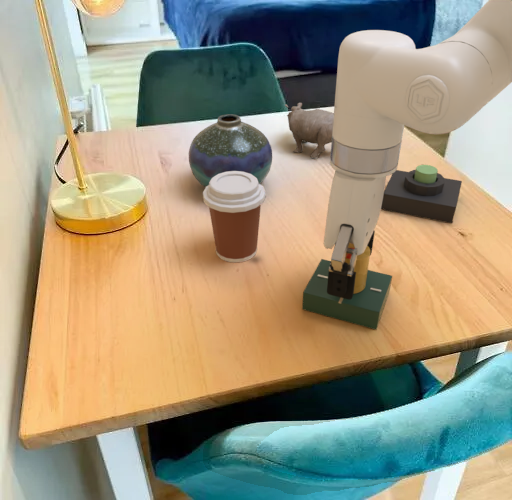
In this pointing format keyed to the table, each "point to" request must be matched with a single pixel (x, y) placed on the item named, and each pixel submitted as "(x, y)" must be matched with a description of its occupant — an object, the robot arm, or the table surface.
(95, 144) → the table surface
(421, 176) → the green short cylinder
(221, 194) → the coffee cup
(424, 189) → the button base
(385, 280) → the panel
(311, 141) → the rhinoceros figurine
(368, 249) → the knob
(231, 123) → the vase
